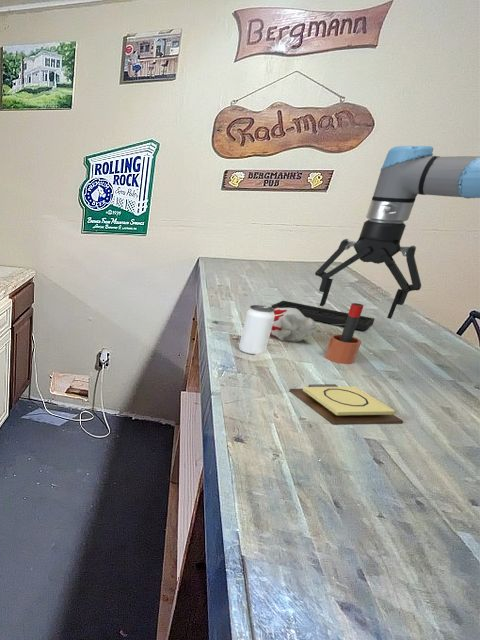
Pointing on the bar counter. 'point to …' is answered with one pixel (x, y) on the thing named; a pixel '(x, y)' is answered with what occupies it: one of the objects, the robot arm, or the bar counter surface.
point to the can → (257, 329)
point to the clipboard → (342, 418)
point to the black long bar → (325, 315)
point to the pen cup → (342, 350)
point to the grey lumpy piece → (291, 325)
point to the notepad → (348, 401)
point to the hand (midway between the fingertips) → (354, 310)
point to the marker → (351, 322)
